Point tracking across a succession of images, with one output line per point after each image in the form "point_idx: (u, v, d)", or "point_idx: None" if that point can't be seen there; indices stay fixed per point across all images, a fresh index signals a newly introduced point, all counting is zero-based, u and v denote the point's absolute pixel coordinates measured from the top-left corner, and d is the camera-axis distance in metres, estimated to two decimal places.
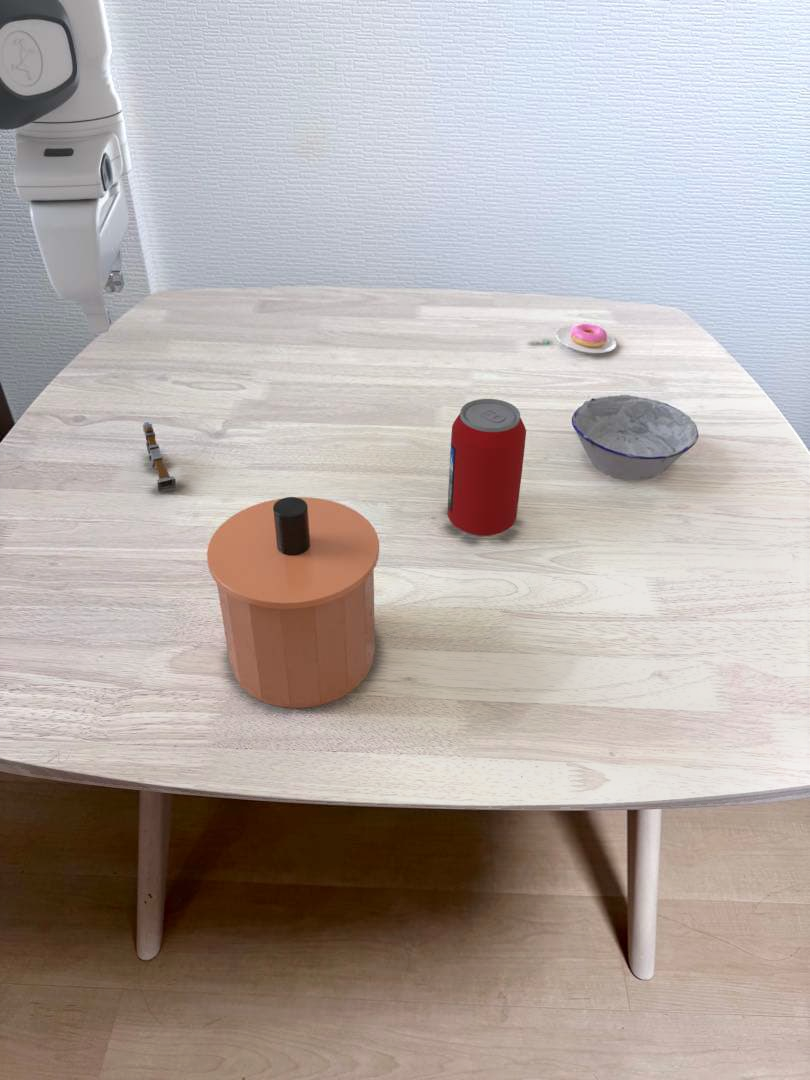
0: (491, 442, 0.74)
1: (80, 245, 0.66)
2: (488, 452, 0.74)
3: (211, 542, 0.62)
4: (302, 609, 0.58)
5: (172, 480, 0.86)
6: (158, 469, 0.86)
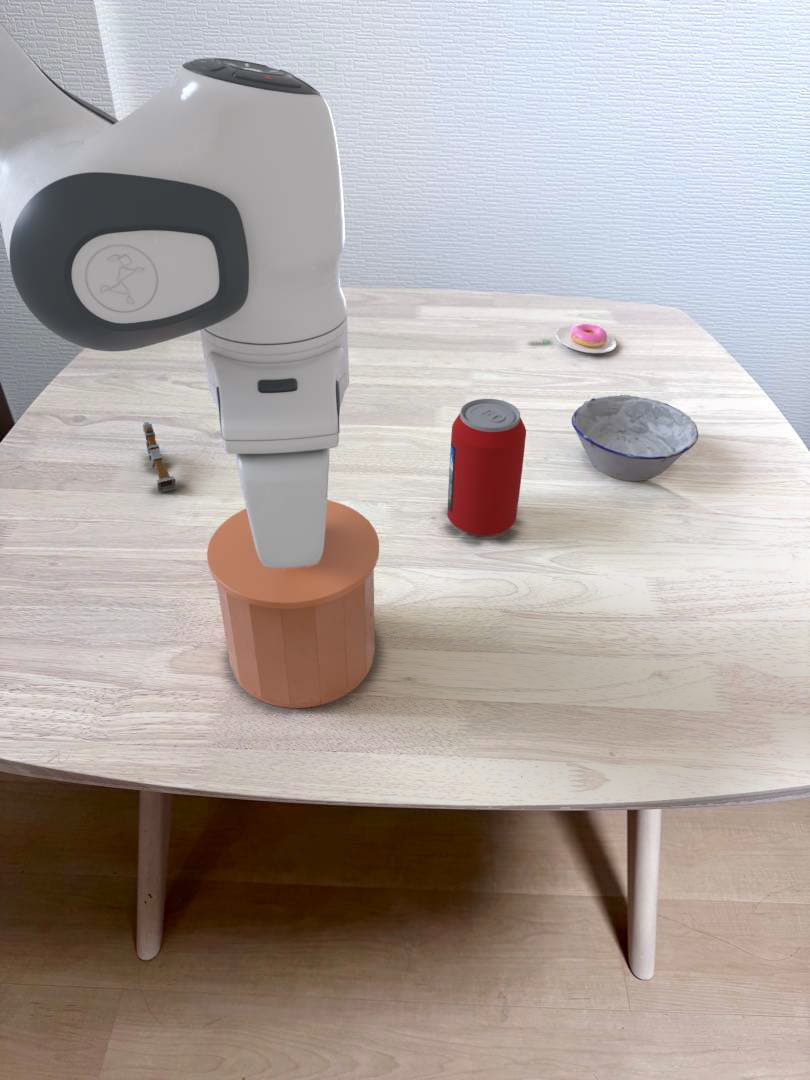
0: (491, 442, 0.74)
1: (304, 510, 0.48)
2: (488, 452, 0.74)
3: (211, 542, 0.62)
4: (302, 609, 0.58)
5: (172, 480, 0.86)
6: (158, 469, 0.86)
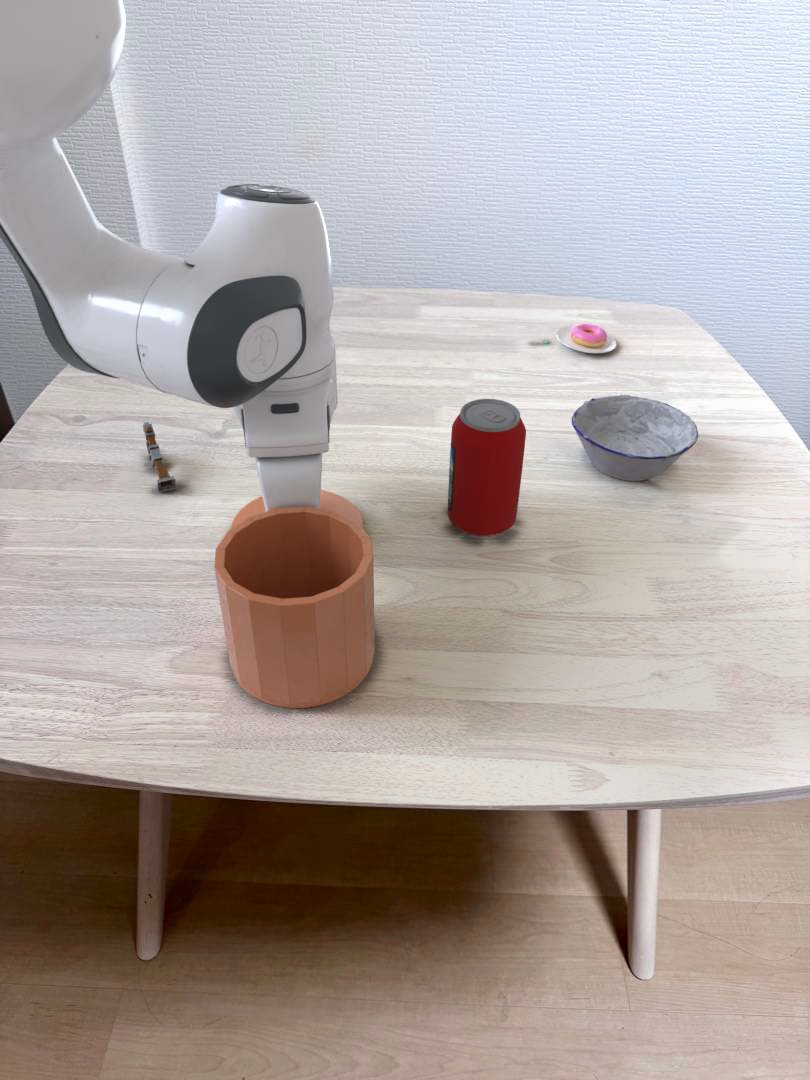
0: (491, 442, 0.74)
1: (304, 498, 0.67)
2: (488, 452, 0.74)
3: (234, 522, 0.80)
4: (302, 609, 0.58)
5: (172, 480, 0.86)
6: (158, 469, 0.86)
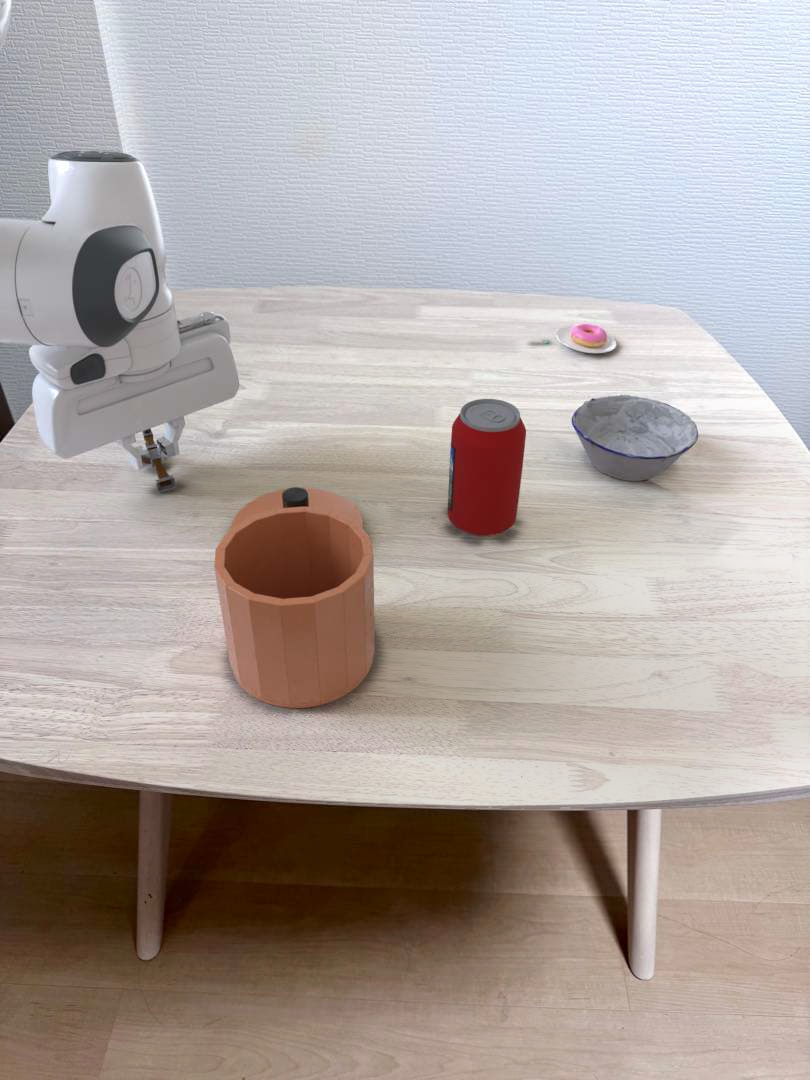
0: (491, 442, 0.74)
1: (46, 417, 0.76)
2: (488, 452, 0.74)
3: (234, 522, 0.80)
4: (302, 609, 0.58)
5: (171, 479, 0.86)
6: (157, 469, 0.86)
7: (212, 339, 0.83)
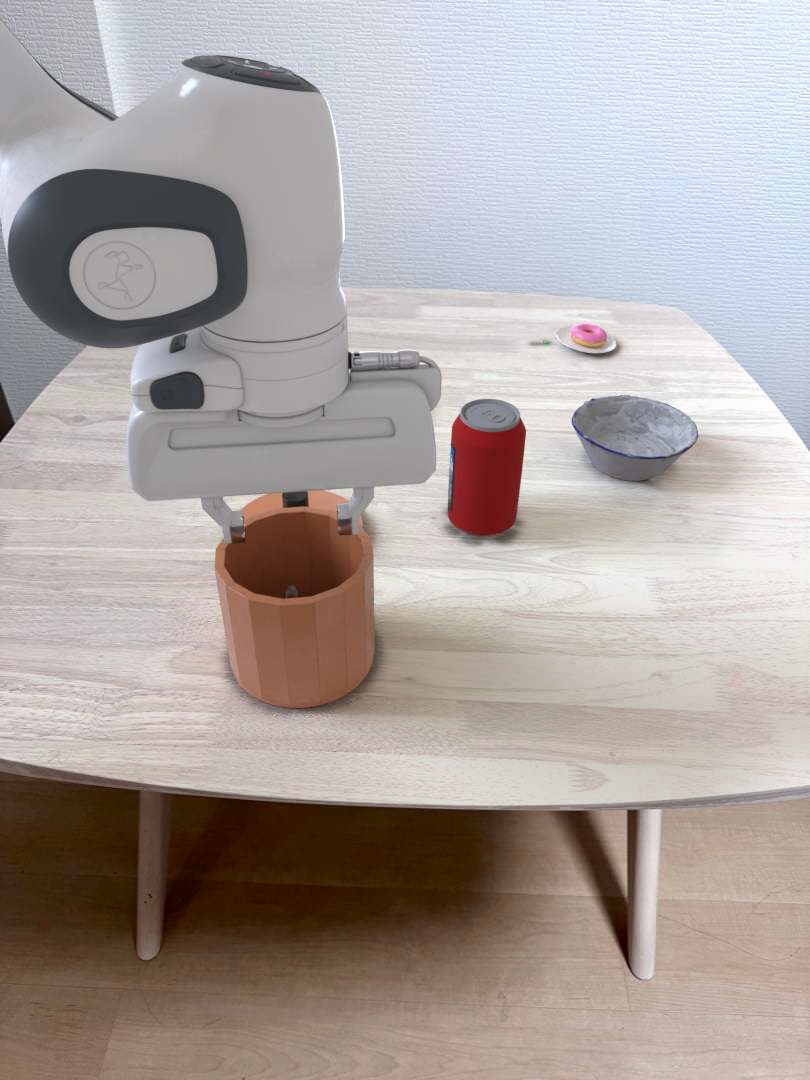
0: (491, 442, 0.74)
1: None
2: (488, 452, 0.74)
3: None
4: (302, 609, 0.58)
5: None
6: None
7: (400, 393, 0.53)
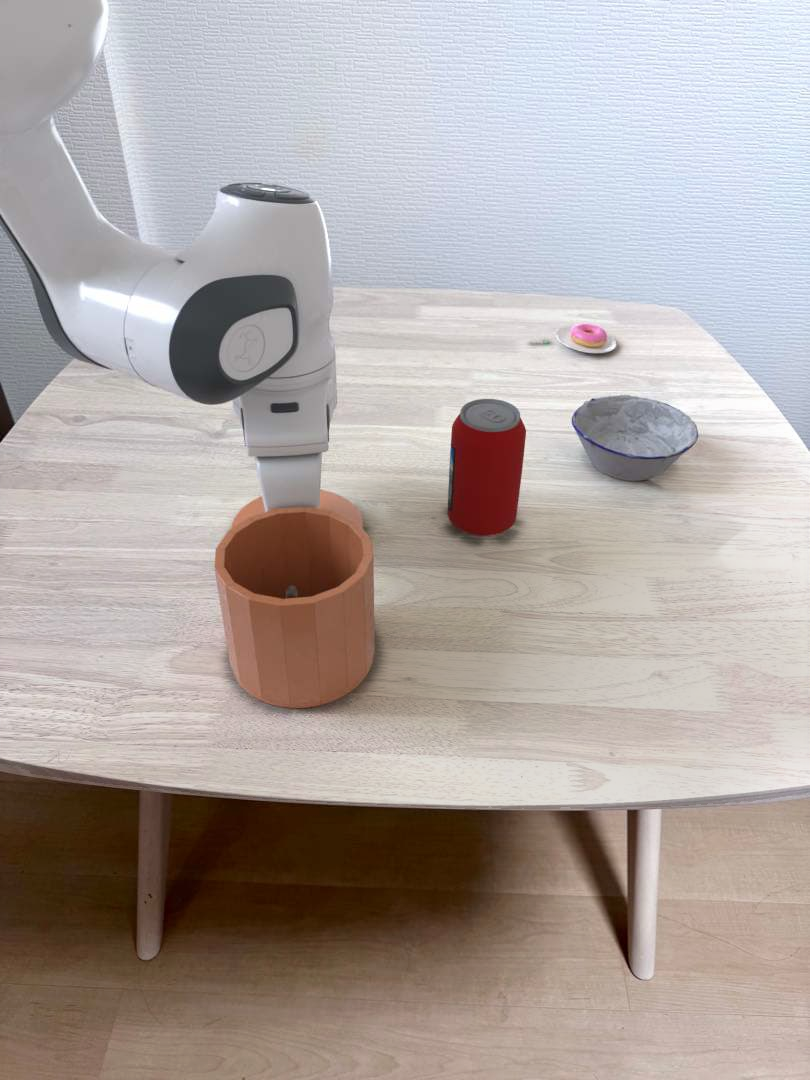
0: (491, 442, 0.74)
1: (303, 497, 0.66)
2: (488, 452, 0.74)
3: (234, 522, 0.80)
4: (302, 609, 0.58)
5: None
6: None
7: None
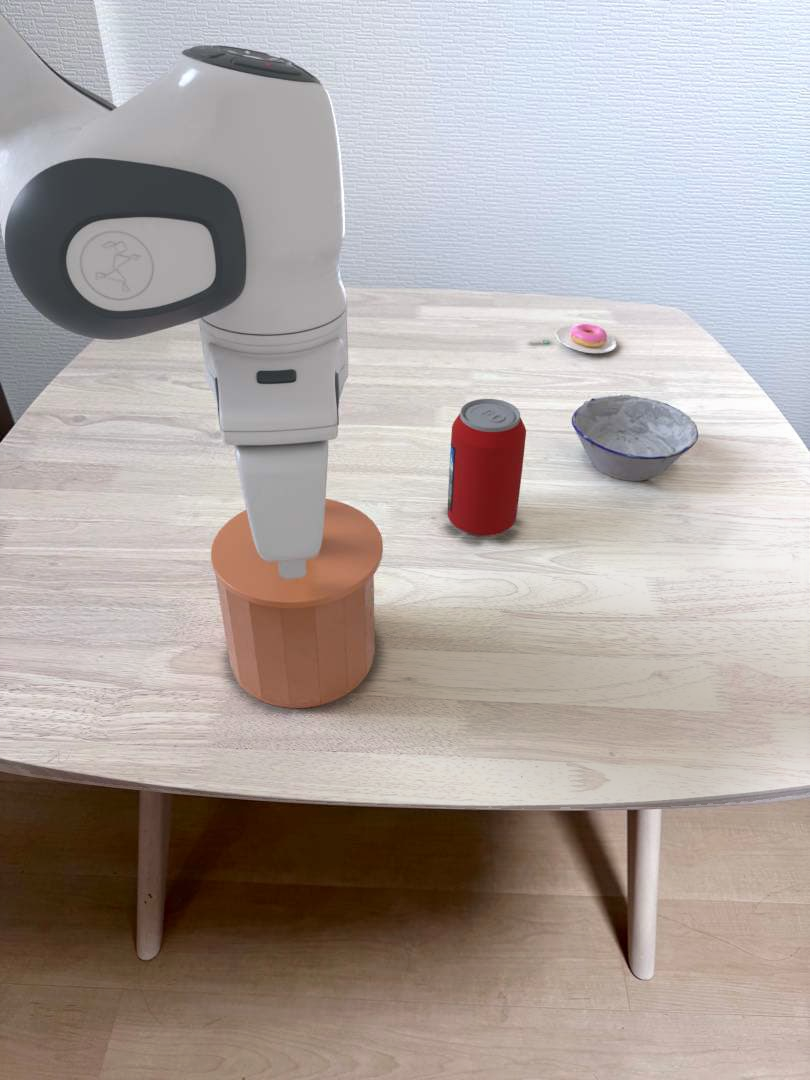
0: (491, 442, 0.74)
1: (302, 503, 0.47)
2: (488, 452, 0.74)
3: (215, 541, 0.62)
4: (302, 609, 0.58)
5: None
6: None
7: None
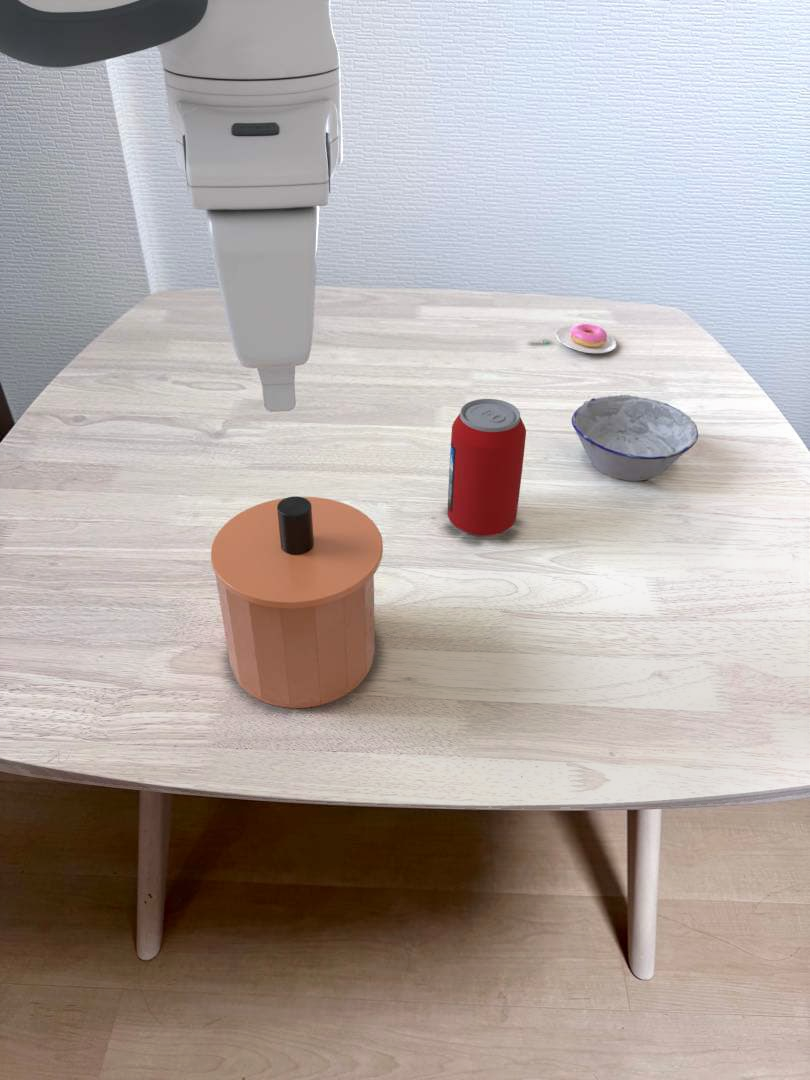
0: (491, 442, 0.74)
1: (287, 284, 0.40)
2: (488, 452, 0.74)
3: (215, 541, 0.62)
4: (302, 609, 0.58)
5: None
6: None
7: None
